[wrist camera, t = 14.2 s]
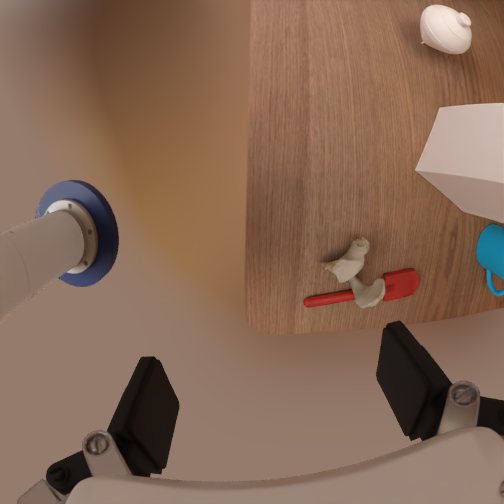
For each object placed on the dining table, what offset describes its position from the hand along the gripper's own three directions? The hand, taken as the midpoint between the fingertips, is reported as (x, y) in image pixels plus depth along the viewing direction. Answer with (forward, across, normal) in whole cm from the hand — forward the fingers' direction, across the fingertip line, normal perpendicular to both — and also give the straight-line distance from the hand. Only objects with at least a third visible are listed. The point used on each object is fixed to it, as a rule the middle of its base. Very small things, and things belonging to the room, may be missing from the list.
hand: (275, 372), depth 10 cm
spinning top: (+26, -29, -26) cm, 46 cm away
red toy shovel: (+26, -13, +12) cm, 31 cm away
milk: (+25, -31, -7) cm, 41 cm away
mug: (+25, -41, +10) cm, 49 cm away
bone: (+26, -11, +6) cm, 29 cm away
